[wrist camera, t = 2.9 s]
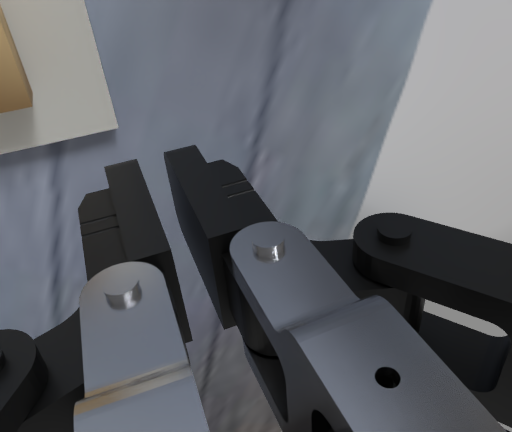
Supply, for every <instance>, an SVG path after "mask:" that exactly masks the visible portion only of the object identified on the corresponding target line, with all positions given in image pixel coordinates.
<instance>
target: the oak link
mask: <svg viewBox="0 0 512 432" xmlns="http://www.w3.org/2000/svg"><path fill="white" fill-rule="evenodd" d="M29 107H33V92H32V89H31V86H30V84H29V81H28V78H27V75H26V73H25V70H24V67H23V65H22V62H21V59H20V56H19V54H18V51H17V48H16V46H15V43H14V40H13V37H12V35H11V32H10V29H9V27H8V24H7V21H6V18H5V16H4V13H3V10H2V8H1V5H0V113H4V112H9V111H14V110H19V109H24V108H29Z"/></svg>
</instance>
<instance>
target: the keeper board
mask: <svg viewBox="0 0 512 432" xmlns="http://www.w3.org/2000/svg"><path fill="white" fill-rule="evenodd" d="M0 5H1V8H2V10H3V13H4V16H5V18H6V21H7V24H8V27H9V29H10V32H11V35H12V37H13V40H14V43H15V46H16V48H17V51H18V54H19V56H20V59H21V62H22V65H23V67H24V70H25V73H26V75H27V78H28V81H29V84H30V86H31V89H32V92H33V107H29V108H24V109H19V110H14V111H9V112H4V113H0V155H1V154H5V153H10V152H14V151H19V150H23V149H27V148H32V147H36V146H41V145H45V144H50V143H54V142H59V141H63V140H68V139H72V138H77V137H81V136H85V135H90V134H94V133H99V132H103V131H108V130H112V129H117V128H119V127H118V124H117V120H116V116H115V113H114V109H113V105H112V102H111V98H110V94H109V91H108V87H107V83H106V79H105V76H104V72H103V68H102V65H101V61H100V57H99V54H98V50H97V46H96V43H95V39H94V35H93V31H92V28H91V24H90V20H89V17H88V13H87V9H86V6H85V2H84V0H0Z"/></svg>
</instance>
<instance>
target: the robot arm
mask: <svg viewBox="0 0 512 432" xmlns="http://www.w3.org/2000/svg"><path fill="white" fill-rule="evenodd" d="M164 159H165V164H166V169H167V173H168V178H169V182H170V187H171V191H172V196H173V201H174V205H175V210H176V214H177V217H178V221H179V224H180V227H181V230H182V233H183V235H184V238H185V240H186V242H187V245H188V247H189V249H190V252H191V254H192V256H193V259H194V261H195V263H196V266H197V268H198V270H199V273H200V275H201V277H202V279H203V282H204V284H205V286H206V289H207V291H208V293H209V296H210V298H211V300H212V303H213V305H214V307H215V310H216V312H217V314H218V317H219V319H220V321H221V324H222V326H223V328H224V329H227V328H230V327H233V326H236V325H237V326H238V329H239V331H240V333H241V335H242V338H243V345H244V352H245V356H246V358H247V360H248V362H249V365H250V367H251V369H252V371H253V373H254V375H255V377H256V379H257V381H258V383H259V385H260V387H261V389H262V391H263V393H264V395H265V397H266V399H267V401H268V403H269V405H270V407H271V409H272V411H273V413H274V415H275V417H276V419H277V422H278V424H279V426H280V428H281V430H282V432H510V431H508V430H505V429H504V428H503V427H502V426H501V425H500V424H499V423H498V422H500V423H503V424H505V425H507V426H509V427H511V428H512V244H510V243H507V242H503V241H499V240H496V239H492V238H488V237H485V236H481V235H477V234H474V233H470V232H466V231H463V230H460V229H456V228H452V227H448V226H445V225H441V224H438V223H434V222H431V221H427V220H423V219H420V218H416V217H412V216H408V215H405V214H398V213H380V214H375V215H371V216H369V217H367V218H364V219H363V220H362V221H360V222H359V223H358V224H357V226H356V227H355V229H354V235H353V239H348V240H334V241H312V240H309V239H308V238H307V237H306V236H305V234H304V233H303V232H302V231H301V230H299V229H298V228H296V227H295V226H292V225H290V224H287V223H283V222H278V221H277V220H276V218H275V217H274V216H273V214H272V213H271V212H270V210H269V209H268V207H267V206H266V205H265V203H264V202H263V201H262V199H261V198H260V197H259V195H258V194H257V193H256V191H254V189H253V187H252V186H251V184H250V183H249V182H248V181H247V179H246V178H245V176H244V175H243V173H242V172H241V171H240V169H239V168H238V167H236V166H234V165H232V164H230V163H228V162H226V161H224V160H218V161H214V162H211V163H207V162H206V161H205V159H204V158H203V156H202V154H201V153H200V151H199V150H198V148H197V147H196V145H192V146H188V147H184V148H180V149H176V150H171V151H167V152H164ZM104 168H105V172H106V176H107V180H108V184H109V188H108V189H104V190H101V191H97V192H93V193H89V194H86V195H85V197H84V199H83V201H82V203H81V205H80V206H79V208H78V213H79V220H80V225H81V226H80V228H81V235H82V243H83V250H84V258H85V265H86V273H87V280H88V282H87V284H86V285H85V286H84V288H83V289H82V291H81V294H80V297H79V308H78V309H77V311H76V312H75V313H74V314H73V315H71V316H70V317H69V318H68V319H67V320H65V321H64V322H63V323H61V324H60V325H58V326H56V327H55V328H53V329H51V330H50V331H48V332H46V333H44V334H43V335H41V336H39V337H37V338H36V339H34V340H33V339H32V338H31V337H30V336H29V335H28V334H26V333H24V332H22V331H18V330H12V329H5V330H0V432H209V428H208V425H207V421H206V418H205V414H204V411H203V407H202V404H201V401H200V397H199V394H198V390H197V387H196V383H195V380H194V376H193V373H192V370H191V366H190V360H189V356H188V352H187V348H186V344H185V343H187V342H190V341H193V340H192V336H191V331H190V327H189V323H188V319H187V315H186V310H185V306H184V302H183V298H182V294H181V290H180V285H179V281H178V277H177V273H176V269H175V265H174V260H173V256H172V252H171V249H170V246H169V243H168V241H167V238H166V235H165V233H164V230H163V227H162V225H161V222H160V219H159V217H158V214H157V212H156V209H155V206H154V204H153V201H152V198H151V196H150V193H149V190H148V188H147V185H146V182H145V180H144V177H143V175H142V172H141V169H140V167H139V164H138V161H137V159H134V160H130V161H126V162H122V163H118V164H114V165H110V166H106V167H104ZM425 299H426V300H429V301H432V302H435V303H438V304H441V305H444V306H446V307H449V308H452V309H454V310H458V311H460V312H463V313H466V314H469V315H471V316H474V317H477V318H480V319H483V320H485V321H489V322H491V323H493V324H495V325H497V326H499V327H500V328H501V329H503V330H504V331H505V332H506V333H507V334H508V335H507V336H504V337H494V336H490V335H487V334H484V333H482V332H479V331H476V330H474V329H471V328H468V327H465V326H463V325H460V324H457V323H454V322H452V321H449V320H447V319H444V318H441V317H438V316H436V315H433V314H430V313H427V312H425V311H423V309H424V303H425ZM497 421H498V422H497Z"/></svg>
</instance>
